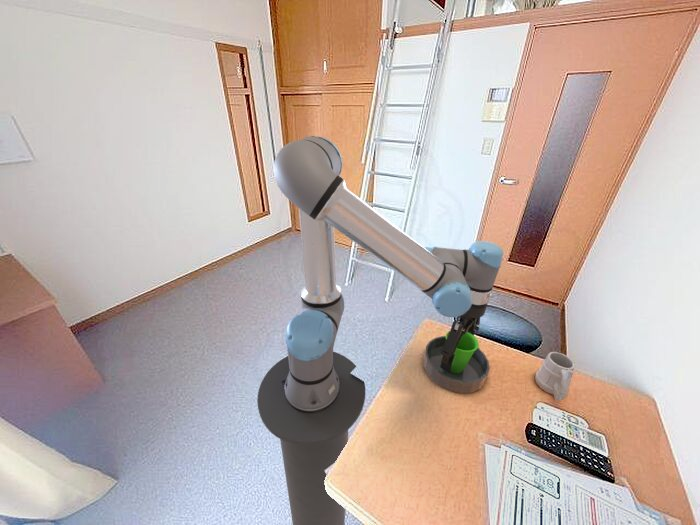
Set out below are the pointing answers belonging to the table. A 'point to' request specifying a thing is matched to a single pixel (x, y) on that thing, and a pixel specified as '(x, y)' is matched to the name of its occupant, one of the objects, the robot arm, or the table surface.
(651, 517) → the table surface
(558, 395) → the mug
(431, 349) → the pan
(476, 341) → the cup
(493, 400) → the table surface
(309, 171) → the robot arm
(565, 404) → the table surface
